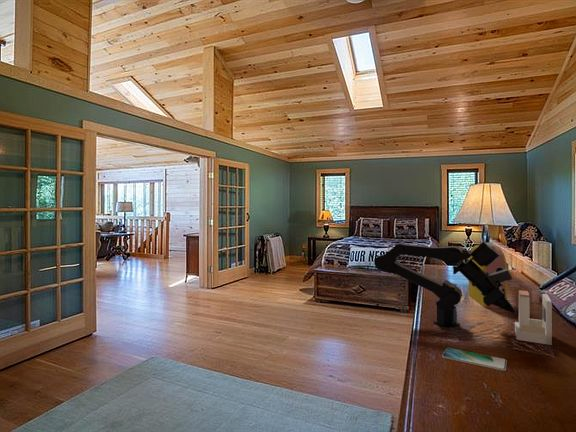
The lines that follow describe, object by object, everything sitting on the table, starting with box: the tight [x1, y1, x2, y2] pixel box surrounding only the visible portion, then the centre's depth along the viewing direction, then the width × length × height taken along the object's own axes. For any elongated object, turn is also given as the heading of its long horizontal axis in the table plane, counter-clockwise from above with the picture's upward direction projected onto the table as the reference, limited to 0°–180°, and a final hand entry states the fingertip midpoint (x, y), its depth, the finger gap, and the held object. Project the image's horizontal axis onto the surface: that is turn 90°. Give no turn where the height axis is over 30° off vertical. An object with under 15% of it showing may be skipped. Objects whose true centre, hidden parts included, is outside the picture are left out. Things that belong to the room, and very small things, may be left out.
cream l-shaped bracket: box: [514, 293, 553, 346], centre depth 110 cm, size 9×11×13 cm
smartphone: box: [441, 347, 508, 372], centre depth 93 cm, size 7×1×15 cm
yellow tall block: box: [468, 242, 508, 309], centre depth 153 cm, size 21×9×26 cm, turn 168°
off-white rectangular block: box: [518, 289, 531, 330], centre depth 111 cm, size 2×7×11 cm, turn 149°
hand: (514, 312), depth 112 cm, fingers closed
